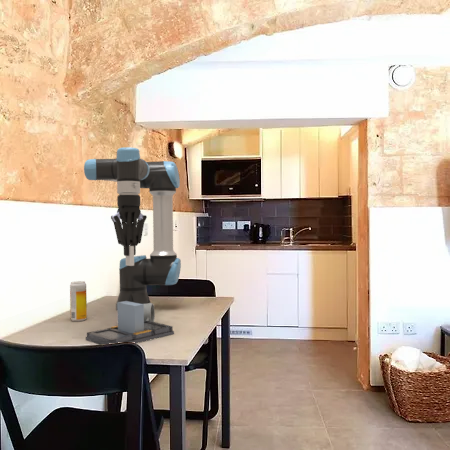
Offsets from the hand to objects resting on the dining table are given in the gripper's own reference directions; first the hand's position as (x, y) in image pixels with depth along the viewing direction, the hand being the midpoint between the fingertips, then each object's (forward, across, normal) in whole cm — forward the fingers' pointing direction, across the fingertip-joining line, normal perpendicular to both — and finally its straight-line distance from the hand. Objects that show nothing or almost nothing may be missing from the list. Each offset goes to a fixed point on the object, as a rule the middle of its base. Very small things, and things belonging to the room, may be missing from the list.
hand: (129, 265), depth 154 cm
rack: (+24, 0, 0) cm, 24 cm away
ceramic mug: (+24, +14, +12) cm, 31 cm away
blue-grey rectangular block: (+23, 0, 0) cm, 23 cm away
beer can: (+24, +2, +38) cm, 45 cm away
